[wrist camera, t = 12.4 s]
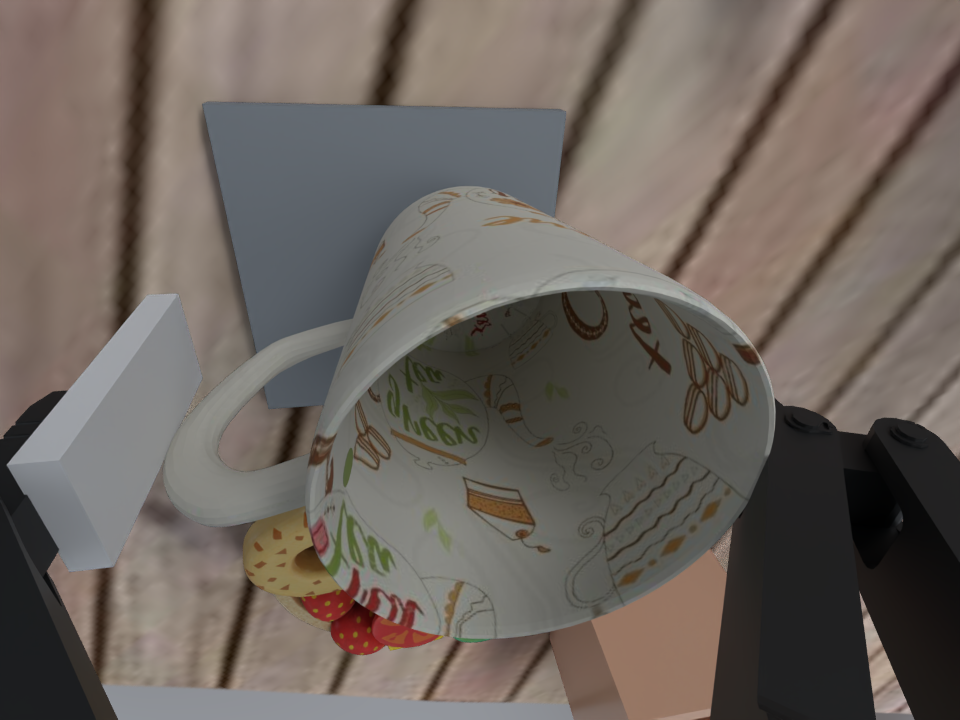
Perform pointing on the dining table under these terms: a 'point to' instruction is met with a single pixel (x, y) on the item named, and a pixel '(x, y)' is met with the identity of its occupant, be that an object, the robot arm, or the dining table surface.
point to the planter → (648, 652)
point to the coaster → (352, 200)
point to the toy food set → (317, 588)
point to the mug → (502, 427)
